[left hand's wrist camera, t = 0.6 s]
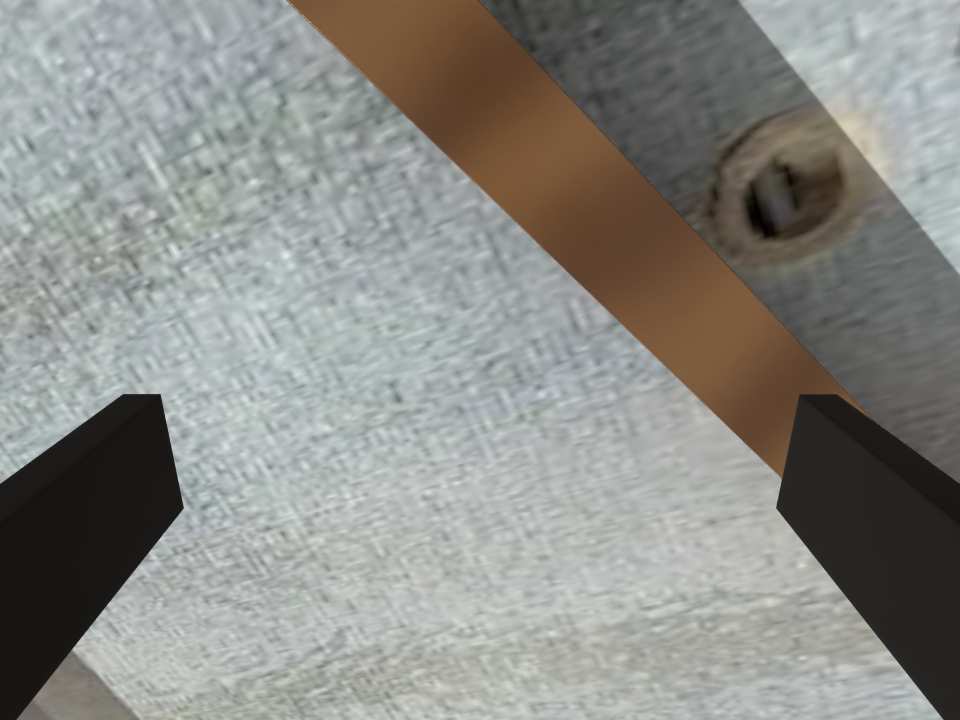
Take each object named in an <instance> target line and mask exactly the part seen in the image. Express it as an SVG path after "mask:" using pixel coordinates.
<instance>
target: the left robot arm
mask: <svg viewBox="0 0 960 720" xmlns="http://www.w3.org/2000/svg"><path fill="white" fill-rule="evenodd" d="M183 509H184V507H183V502H182V497H181V492H180V487H179V482H178V477H177V472H176V467H175V463H174V458H173V453H172V448H171V443H170V438H169V433H168V428H167V423H166V418H165V414H164V409H163V404H162V399H161V394H123V395H121V396H120V397H119V398H117V399H116V400H115V401H113V402H112V403H110V404H109V405H108V406H106V407H105V408H104V409H102V410H101V411H100V412H98V413H97V414H95V415H94V416H93V417H91V418H90V419H89V420H87V421H86V422H84V423H83V424H82V425H80V426H79V427H78V428H76V429H75V430H73V431H72V432H71V433H69V434H68V435H67V436H65V437H64V438H63V439H61V440H60V441H58V442H57V443H56V444H54V445H53V446H52V447H50V448H49V449H47V450H46V451H45V452H43V453H42V454H41V455H39V456H38V457H36V458H35V459H34V460H32V461H31V462H30V463H28V464H27V465H25V466H24V467H23V468H21V469H20V470H19V471H17V472H16V473H15V474H13V475H12V476H10V477H9V478H8V479H6V480H5V481H4V482H2V483H1V484H0V720H16V719H17V718H18V717H19V716H20V714H21V713H22V712H23V711H24V709H25V708H26V707H27V706H28V704H29V703H30V702H31V701H32V699H33V698H34V697H35V696H36V694H37V693H38V692H39V690H40V689H41V688H42V687H43V685H44V684H45V683H46V682H47V680H48V679H49V678H50V677H51V675H52V674H53V673H54V672H55V670H56V669H57V668H58V666H59V665H60V664H61V663H62V661H63V660H64V659H65V658H66V656H67V655H68V654H69V653H70V651H71V650H72V649H73V648H74V646H75V645H76V644H77V642H78V641H79V640H80V639H81V637H82V636H83V635H84V634H85V632H86V631H87V630H88V629H89V627H90V626H91V625H92V624H93V622H94V621H95V620H96V618H97V617H98V616H99V615H100V613H101V612H102V611H103V610H104V608H105V607H106V606H107V605H108V603H109V602H110V601H111V600H112V598H113V597H114V596H115V594H116V593H117V592H118V591H119V589H120V588H121V587H122V586H123V584H124V583H125V582H126V581H127V579H128V578H129V577H130V576H131V574H132V573H133V572H134V570H135V569H136V568H137V567H138V565H139V564H140V563H141V562H142V560H143V559H144V558H145V557H146V555H147V554H148V553H149V552H150V550H151V549H152V548H153V546H154V545H155V544H156V543H157V541H158V540H159V539H160V538H161V536H162V535H163V534H164V533H165V531H166V530H167V529H168V528H169V526H170V525H171V524H172V522H173V521H174V520H175V519H176V517H177V516H178V515H179V514H180V512H181V511H182V510H183ZM776 509H777V510H778V511H779V512H780V514H781V515H782V516H783V517H784V519H785V520H786V521H787V522H788V524H789V525H790V526H791V528H792V529H793V530H794V531H795V533H796V534H797V535H798V536H799V538H800V539H801V540H802V541H803V543H804V544H805V545H806V546H807V548H808V549H809V550H810V552H811V553H812V554H813V555H814V557H815V558H816V559H817V560H818V562H819V563H820V564H821V565H822V567H823V568H824V569H825V570H826V572H827V573H828V574H829V576H830V577H831V578H832V579H833V581H834V582H835V583H836V584H837V586H838V587H839V588H840V589H841V591H842V592H843V593H844V594H845V596H846V597H847V598H848V600H849V601H850V602H851V603H852V605H853V606H854V607H855V608H856V610H857V611H858V612H859V613H860V615H861V616H862V617H863V618H864V620H865V621H866V622H867V624H868V625H869V626H870V627H871V629H872V630H873V631H874V632H875V634H876V635H877V636H878V637H879V639H880V640H881V641H882V642H883V644H884V645H885V646H886V648H887V649H888V650H889V651H890V653H891V654H892V655H893V656H894V658H895V659H896V660H897V661H898V663H899V664H900V665H901V666H902V668H903V669H904V670H905V672H906V673H907V674H908V675H909V677H910V678H911V679H912V680H913V682H914V683H915V684H916V685H917V687H918V688H919V689H920V690H921V692H922V693H923V694H924V696H925V697H926V698H927V699H928V701H929V702H930V703H931V704H932V706H933V707H934V708H935V709H936V711H937V712H938V713H939V715H940V716H941V717H942V718H943V720H960V484H959V483H958V482H956V481H955V480H954V479H952V478H951V477H950V476H948V475H947V474H945V473H944V472H943V471H941V470H940V469H939V468H937V467H936V466H935V465H933V464H932V463H930V462H929V461H928V460H926V459H925V458H924V457H922V456H921V455H919V454H918V453H917V452H915V451H914V450H913V449H911V448H910V447H908V446H907V445H906V444H904V443H903V442H902V441H900V440H899V439H897V438H896V437H895V436H893V435H892V434H891V433H889V432H888V431H887V430H885V429H884V428H882V427H881V426H880V425H878V424H877V423H876V422H874V421H873V420H871V419H870V418H869V417H867V416H866V415H865V414H863V413H862V412H860V411H859V410H858V409H856V408H855V407H854V406H852V405H851V404H850V403H848V402H847V401H845V400H844V399H843V398H841V397H840V396H839V395H837V394H799V399H798V404H797V409H796V414H795V418H794V423H793V428H792V433H791V438H790V443H789V448H788V453H787V458H786V463H785V467H784V472H783V477H782V482H781V487H780V492H779V497H778V502H777V507H776Z"/></svg>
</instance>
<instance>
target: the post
mask: <svg viewBox="0 0 960 720" xmlns="http://www.w3.org/2000/svg"><path fill="white" fill-rule="evenodd" d="M286 1H287V2H288V3H289V4H290V5H291V6H292V7H293V8H294V9H295V10H297V11H298V12H299V13H300V14H301V15H302V16H303V17H304V18H305V19H306V20H307V21H308V22H309V23H310V24H311V25H312V26H313V27H314V28H315V29H316V30H317V31H318V32H319V33H320V34H321V35H322V36H323V37H325V38H326V39H327V40H328V41H329V42H330V43H331V44H332V45H333V46H334V47H335V48H336V49H337V50H338V51H339V52H340V53H341V54H342V55H343V56H344V57H345V58H346V59H347V60H348V61H349V62H350V63H351V64H353V65H354V66H355V67H356V68H357V69H358V70H359V71H360V72H361V73H362V74H363V75H364V76H365V77H366V78H367V79H368V80H369V81H370V82H371V83H372V84H373V85H374V86H375V87H376V88H377V89H378V90H379V91H380V92H382V93H383V94H384V95H385V96H386V97H387V98H388V99H389V100H390V101H391V102H392V103H393V104H394V105H395V106H396V107H397V108H398V109H399V110H400V111H401V112H402V113H403V114H404V115H405V116H406V117H407V118H408V119H410V120H411V121H412V122H413V123H414V124H415V125H416V126H417V127H418V128H419V129H420V130H421V131H422V132H423V133H424V134H425V135H426V136H427V137H428V138H429V139H430V140H431V141H432V142H433V143H434V144H435V145H436V146H438V147H439V148H440V149H441V150H442V151H443V152H444V153H445V154H446V155H447V156H448V157H449V158H450V159H451V160H452V161H453V162H454V163H455V164H456V165H457V166H458V167H459V168H460V169H461V170H462V171H463V172H464V173H466V174H467V175H468V176H469V177H470V178H471V179H472V180H473V181H474V182H475V183H476V184H477V185H478V186H479V187H480V188H481V189H482V190H483V191H484V192H485V193H486V194H487V195H488V196H489V197H490V198H491V199H492V200H494V201H495V202H496V203H497V204H498V205H499V206H500V207H501V208H502V209H503V210H504V211H505V212H506V213H507V214H508V215H509V216H510V217H511V218H512V219H513V220H514V221H515V222H516V223H517V224H518V225H519V226H520V227H522V228H523V229H524V230H525V231H526V232H527V233H528V234H529V235H530V236H531V237H532V238H533V239H534V240H535V241H536V242H537V243H538V244H539V245H540V246H541V247H542V248H543V249H544V250H545V251H546V252H547V253H548V254H549V255H551V256H552V257H553V258H554V259H555V260H556V261H557V262H558V263H559V264H560V265H561V266H562V267H563V268H564V269H565V270H566V271H567V272H568V273H569V274H570V275H571V276H572V277H573V278H574V279H575V280H576V281H577V282H579V283H580V284H581V285H582V286H583V287H584V288H585V289H586V290H587V291H588V292H589V293H590V294H591V295H592V296H593V297H594V298H595V299H596V300H597V301H598V302H599V303H600V304H601V305H602V306H603V307H604V308H605V309H607V310H608V311H609V312H610V313H611V314H612V315H613V316H614V317H615V318H616V319H617V320H618V321H619V322H620V323H621V324H622V325H623V326H624V327H625V328H626V329H627V330H628V331H629V332H630V333H631V334H632V335H633V336H635V337H636V338H637V339H638V340H639V341H640V342H641V343H642V344H643V345H644V346H645V347H646V348H647V349H648V350H649V351H650V352H651V353H652V354H653V355H654V356H655V357H656V358H657V359H658V360H659V361H660V362H661V363H663V364H664V365H665V366H666V367H667V368H668V369H669V370H670V371H671V372H672V373H673V374H674V375H675V376H676V377H677V378H678V379H679V380H680V381H681V382H682V383H683V384H684V385H685V386H686V387H687V388H688V389H689V390H691V391H692V392H693V393H694V394H695V395H696V396H697V397H698V398H699V399H700V400H701V401H702V402H703V403H704V404H705V405H706V406H707V407H708V408H709V409H710V410H711V411H712V412H713V413H714V414H715V415H716V416H717V417H718V418H720V419H721V420H722V421H723V422H724V423H725V424H726V425H727V426H728V427H729V428H730V429H731V430H732V431H733V432H734V433H735V434H736V435H737V436H738V437H739V438H740V439H741V440H742V441H743V442H744V443H745V444H746V445H748V446H749V447H750V448H751V449H752V450H753V451H754V452H755V453H756V454H757V455H758V456H759V457H760V458H761V459H762V460H763V461H764V462H765V463H766V464H767V465H768V466H769V467H770V468H771V469H772V470H773V471H774V472H776V473H777V474H778V475H779V476H780V477H781V478H782V477H783V472H784V467H785V463H786V458H787V453H788V448H789V443H790V438H791V433H792V428H793V423H794V418H795V414H796V409H797V404H798V399H799V394H837V395H839V396H840V397H841V398H843V399H844V400H845V401H847V402H848V403H850V404H851V405H852V406H854V407H855V408H856V409H858V410H859V411H860V412H862V413H863V414H865V415H866V416H867V417H869V418H870V416H869V415H868V414H867V413H866V412H865V411H864V410H863V409H862V408H861V407H860V406H859V405H858V404H857V403H856V402H855V400H854V399H853V398H852V397H851V396H850V395H849V394H848V393H847V392H846V391H845V390H844V389H843V388H842V387H841V386H840V384H839V383H838V382H837V381H836V380H835V379H834V378H833V377H832V376H831V375H830V374H829V373H828V372H827V371H826V370H825V368H824V367H823V366H822V365H821V364H820V363H819V362H818V361H817V360H816V359H815V358H814V357H813V356H812V355H811V354H810V353H809V351H808V350H807V349H806V348H805V347H804V346H803V345H802V344H801V343H800V342H799V341H798V340H797V339H796V338H795V337H794V335H793V334H792V333H791V332H790V331H789V330H788V329H787V328H786V327H785V326H784V325H783V324H782V323H781V322H780V321H779V319H778V318H777V317H776V316H775V315H774V314H773V313H772V312H771V311H770V310H769V309H768V308H767V307H766V306H765V305H764V304H763V302H762V301H761V300H760V299H759V298H758V297H757V296H756V295H755V294H754V293H753V292H752V291H751V290H750V289H749V288H748V286H747V285H746V284H745V283H744V282H743V281H742V280H741V279H740V278H739V277H738V276H737V275H736V274H735V273H734V272H733V270H732V269H731V268H730V267H729V266H728V265H727V264H726V263H725V262H724V261H723V260H722V259H721V258H720V257H719V256H718V254H717V253H716V252H715V251H714V250H713V249H712V248H711V247H710V246H709V245H708V244H707V243H706V242H705V241H704V240H703V239H702V237H701V236H700V235H699V234H698V233H697V232H696V231H695V230H694V229H693V228H692V227H691V226H690V225H689V224H688V223H687V221H686V220H685V219H684V218H683V217H682V216H681V215H680V214H679V213H678V212H677V211H676V210H675V209H674V208H673V207H672V205H671V204H670V203H669V202H668V201H667V200H666V199H665V198H664V197H663V196H662V195H661V194H660V193H659V192H658V191H657V190H656V188H655V187H654V186H653V185H652V184H651V183H650V182H649V181H648V180H647V179H646V178H645V177H644V176H643V175H642V174H641V172H640V171H639V170H638V169H637V168H636V167H635V166H634V165H633V164H632V163H631V162H630V161H629V160H628V159H627V158H626V156H625V155H624V154H623V153H622V152H621V151H620V150H619V149H618V148H617V147H616V146H615V145H614V144H613V143H612V142H611V140H610V139H609V138H608V137H607V136H606V135H605V134H604V133H603V132H602V131H601V130H600V129H599V128H598V127H597V126H596V125H595V123H594V122H593V121H592V120H591V119H590V118H589V117H588V116H587V115H586V114H585V113H584V112H583V111H582V110H581V109H580V107H579V106H578V105H577V104H576V103H575V102H574V101H573V100H572V99H571V98H570V97H569V96H568V95H567V94H566V93H565V91H564V90H563V89H562V88H561V87H560V86H559V85H558V84H557V83H556V82H555V81H554V80H553V79H552V78H551V77H550V75H549V74H548V73H547V72H546V71H545V70H544V69H543V68H542V67H541V66H540V65H539V64H538V63H537V62H536V61H535V60H534V58H533V57H532V56H531V55H530V54H529V53H528V52H527V51H526V50H525V49H524V48H523V47H522V46H521V45H520V44H519V42H518V41H517V40H516V39H515V38H514V37H513V36H512V35H511V34H510V33H509V32H508V31H507V30H506V29H505V28H504V26H503V25H502V24H501V23H500V22H499V21H498V20H497V19H496V18H495V17H494V16H493V15H492V14H491V13H490V12H489V11H488V9H487V8H486V7H485V6H484V5H483V4H482V3H481V2H480V1H479V0H286ZM870 419H871V418H870ZM871 420H872V419H871Z"/></svg>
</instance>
